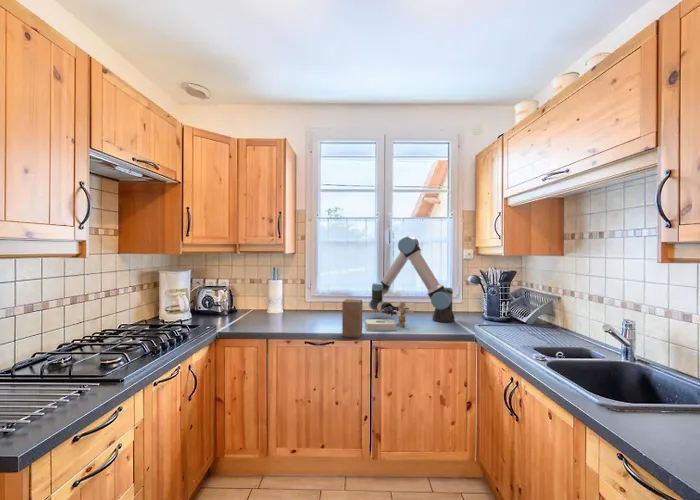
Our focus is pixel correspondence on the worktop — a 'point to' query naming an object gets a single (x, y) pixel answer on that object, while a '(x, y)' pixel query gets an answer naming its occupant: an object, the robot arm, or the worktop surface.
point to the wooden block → (352, 318)
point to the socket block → (380, 325)
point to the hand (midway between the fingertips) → (406, 313)
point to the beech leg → (402, 314)
